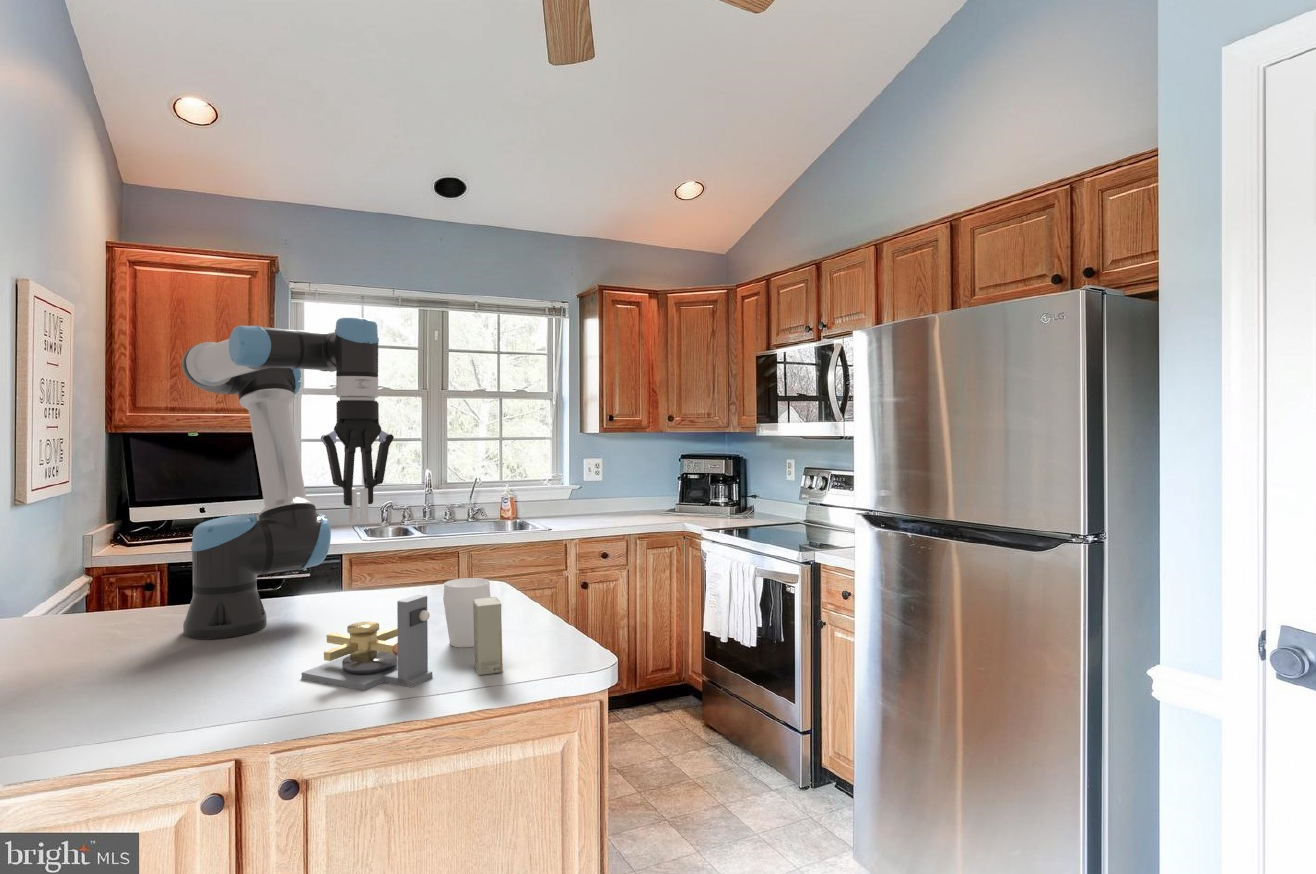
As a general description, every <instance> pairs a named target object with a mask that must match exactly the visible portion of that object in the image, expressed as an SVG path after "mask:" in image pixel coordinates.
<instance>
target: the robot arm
mask: <svg viewBox="0 0 1316 874" xmlns="http://www.w3.org/2000/svg"><path fill="white" fill-rule="evenodd" d="M378 333H379V332H378V324H377V322H376V321H375V320H373V319H371V318H364V317H341V318H337V320H336V322H335V328H334V332H329V331H317V330H316V331H314V330H301V329H287V328H286V329H285V328H279V327H278V328H277V327H266V326H259V325H237V326H236V327H234V328H233V329H232V332H231V333H230V335H229V338H227V339H225V340H222V341H218V342H214V341H204V342H200V343H198V344H194V345H193V346H191V348H188V350H187V351H186V352H185V353H184V354H183V357H182V361H181V369H182V372H183V374H184V376H185V378H186V379H187V380H188V381H189V382H190V383H191V384H192V385H194V386H195V387H197V388H198V389H200V390H203V391H205V392H209V393H213V394H219V395H220V394H221V395H235V396H236V395H238V399H239V400H238V401H239V404H240V406H241V407H242V408H244V409H247V410H248V414H249V422H250V426H251V427H250V428H251V434H252V439H253V444H254V451H255V455H256V462H257V468H258V473H259V479H260V486H261V491H262V499H263V503H264V507H263V508H262V510H261V511H260V512H259V514H258V519H259V520H258V519H257V517H256V515H254V514H247V513H246V514H245V513H244V514H237V515H235V514H234V515H228V516H223V517H218V518H213V519H210V520H209V519H208V520H205V521H204V522H201V523H198V525H196V526H195V527H194V529H193V531H192V538H191V539H192V540H191V546H190V547H191V548H190V550H191V554H192V565H191V566H192V598H191V601H190V603H189V606H188V609H187V613H186V616H185V618H184V621H183V631H182V633H183V636H185V637H186V638H189V639H197V640H212V639H213V640H217V639H225V638H234V637H238V636H243V635H248V634H251V633H255V632H257V631H260V630H262V629H263V628H265V627H266V626H267V624H268V622H267V613H266V609H265V607H264V604H263V602H262V599H261V597H260V594H259V592H258V585H257V583H258V582H257V581H258V576H259V575H265V574H266V575H267V574H274V573H280V572H288V571H294V570H300V571H301V570H302V571H303V570H304V569H306V568H311V567H317V566H319V565H321V564H322V563H323V562H324V560H325V559H326V558H327V555H328V553H329V549H330V547H331V540H332V539H331V537H332V531H331V529H332V528H331V524H330V521H329V519H328V517H327V516H326V515H325V514H321V513H318V512H317V508H316V504H315V503H313V502H311V501H310V500H308V499H307V495H306V489H305V483H304V479H303V473H302V467H301V463H300V462H301V460H300V456H299V451H298V444H297V440H296V435H295V434H296V433H295V430H294V428H295V427H294V424H293V419H292V414H291V413H292V412H291V408H290V405H291V403H292V402H293V401H294V400H295V399H296V395H297V394H298V392H300V390H301V385H302V380H301V378H302V371H301V370H313V371H314V370H316V371H321V372H329V373H331V372H332V373H333V372H336V373H335V376H336V377H335V378H336V383H335V384H336V389H335V390H336V391H335V393H336V395H335V396H336V397H337V398H339V400H337V401H336V423H335V425H334V427H333V431H330V432H329V433H327V434H322V435H321V437H320V440H321V442H322V443H323V445H324V446H325V449H326V454H327V459H328V465H329V470H330V474H331V479H332V484H333V485H334V486H338V487H341V488H342V489H343V490H342V491H343V504H344V505H345V506H346V507H347V506H348V522H349V523H351V524H357V523H358V489H357V488H355V487H353V486H354V485H353V484H354V472H355V471H354V470H355V468H354V467H355V455H356V452H357V451H356V449H357V448H359V449H360V453H361V462H362V476H363V485H364V486H363V487H359V509H360V510H359V514H360V515H359V516H360V520H359V521H360V522H362V523H369V505H373V503H374V488H375V486H378V485H381V484H383V483H384V479H385V474H386V468H387V467H386V466H387V462H388V455H389V451H390V450H389V449H390V445H391V444H392V443H393V440H394V439H395V437H394V435H393V434H392V433H391V434H389V433H387V432H385V431H383V430H382V427H381V425H380V423H379V422H380V421H379V420H380V419H379V417H380V415H379V414H380V413H379V410H380V409H379V402H378V400H376V399H377V398H378V397H379V342H380V338H379V336H378V335H379V334H378ZM337 439H339V440H340V441H341V443H342V444H343V446H344V457H343V458H344V461H343V473H342V472H341V467H340V462H339V457H338V456H339V455H338V452H337V447H336V443H337ZM376 439H378V442H379V445H378V450H377V457H376V463H375V468H374V467H373V457H372V456H373V455H372V453H373V448H372V447H373V446H372V445H373V444H374V442H375V441H376ZM373 468H374V469H373ZM373 470H374V471H373ZM342 474H343V477H342Z"/></svg>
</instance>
